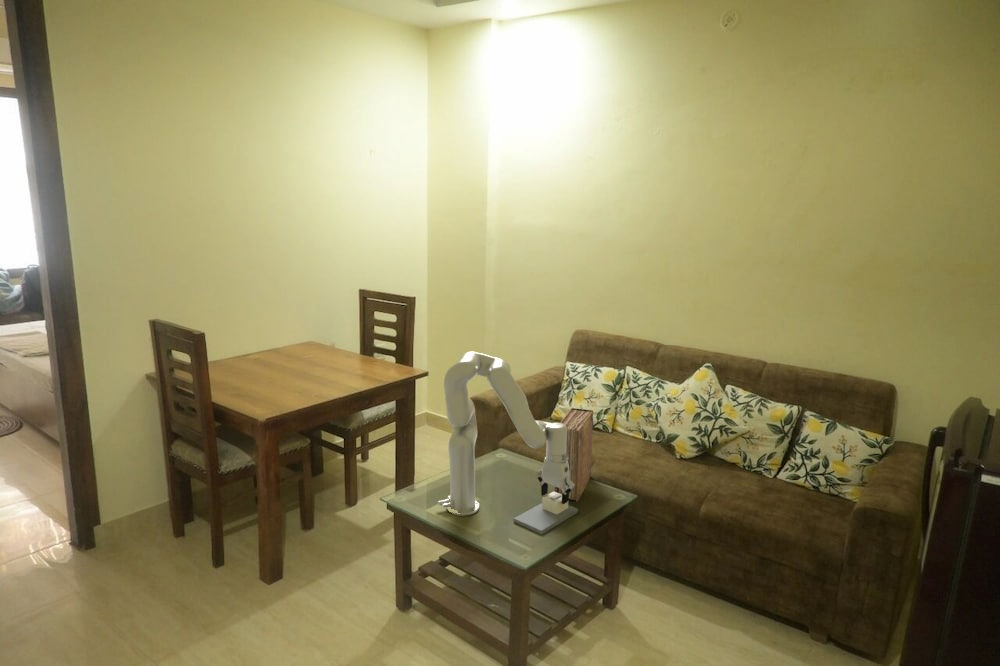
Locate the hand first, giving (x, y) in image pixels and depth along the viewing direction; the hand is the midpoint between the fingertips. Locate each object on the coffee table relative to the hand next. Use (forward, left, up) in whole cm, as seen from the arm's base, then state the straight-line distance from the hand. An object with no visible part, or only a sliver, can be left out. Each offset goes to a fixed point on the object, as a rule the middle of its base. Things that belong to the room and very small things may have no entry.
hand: (554, 498), depth 233 cm
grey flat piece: (-4, -3, -5) cm, 8 cm away
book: (+16, +17, -6) cm, 24 cm away
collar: (0, 0, -4) cm, 4 cm away
